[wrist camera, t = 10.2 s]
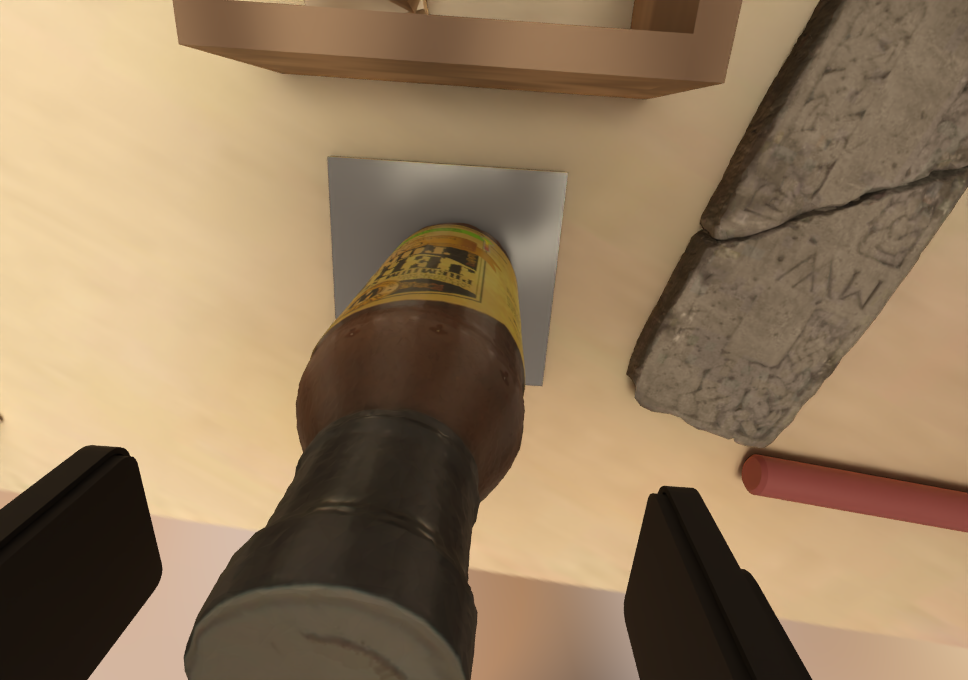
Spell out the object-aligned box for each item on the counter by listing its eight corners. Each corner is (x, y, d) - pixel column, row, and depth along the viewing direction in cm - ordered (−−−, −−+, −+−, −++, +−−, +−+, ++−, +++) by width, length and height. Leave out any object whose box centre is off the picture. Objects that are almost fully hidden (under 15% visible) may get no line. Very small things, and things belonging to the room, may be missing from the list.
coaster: (566, 172, 24) (568, 173, 23) (541, 381, 28) (542, 386, 27) (331, 156, 24) (327, 156, 23) (341, 368, 28) (338, 373, 27)
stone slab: (1293, -226, 17) (793, 476, 27) (1172, -169, 20) (763, 443, 30) (1044, -381, 16) (617, 411, 26) (956, -295, 19) (604, 384, 29)
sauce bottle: (481, 193, 24) (455, 420, 5) (535, 308, 26) (653, 757, 7) (363, 253, 25) (-5, 613, 6) (424, 358, 27) (284, 857, 8)
